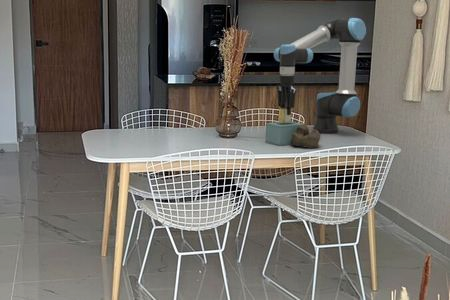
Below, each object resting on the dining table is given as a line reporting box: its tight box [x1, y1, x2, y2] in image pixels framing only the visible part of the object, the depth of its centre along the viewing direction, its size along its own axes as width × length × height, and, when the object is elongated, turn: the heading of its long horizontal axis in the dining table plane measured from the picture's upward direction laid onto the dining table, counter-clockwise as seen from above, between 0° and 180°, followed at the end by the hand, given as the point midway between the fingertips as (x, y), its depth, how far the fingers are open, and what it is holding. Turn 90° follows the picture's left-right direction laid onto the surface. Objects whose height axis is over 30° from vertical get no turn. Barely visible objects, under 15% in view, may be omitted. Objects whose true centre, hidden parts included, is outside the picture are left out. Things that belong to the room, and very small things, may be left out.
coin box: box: [264, 121, 306, 147], centre depth 308 cm, size 16×12×10 cm
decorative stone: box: [290, 124, 321, 149], centre depth 299 cm, size 16×11×15 cm
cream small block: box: [278, 107, 293, 123], centre depth 306 cm, size 6×3×7 cm, turn 123°
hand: (285, 120), depth 306 cm, fingers closed on cream small block, 3 cm apart
